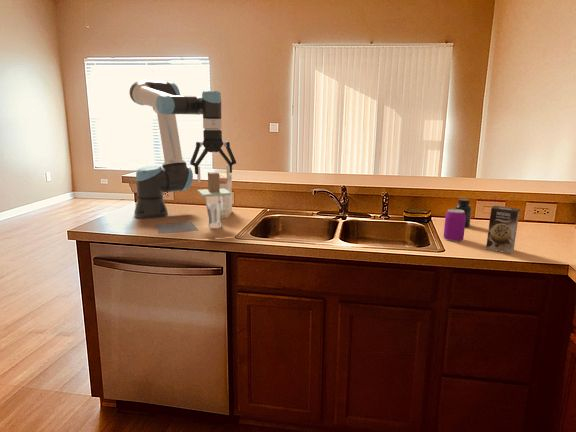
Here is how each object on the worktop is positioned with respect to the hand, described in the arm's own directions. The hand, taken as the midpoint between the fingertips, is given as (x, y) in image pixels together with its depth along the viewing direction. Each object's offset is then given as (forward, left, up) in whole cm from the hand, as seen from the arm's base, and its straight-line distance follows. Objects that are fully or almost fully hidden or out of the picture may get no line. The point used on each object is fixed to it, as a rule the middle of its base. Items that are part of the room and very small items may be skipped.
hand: (213, 181), depth 186 cm
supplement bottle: (+32, +107, -20) cm, 114 cm away
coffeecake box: (-23, +9, -21) cm, 32 cm away
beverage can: (+49, +87, -20) cm, 102 cm away
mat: (-4, -16, -20) cm, 26 cm away
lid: (0, 0, -5) cm, 5 cm away
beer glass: (0, 0, -20) cm, 20 cm away
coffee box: (+66, +94, -20) cm, 117 cm away
